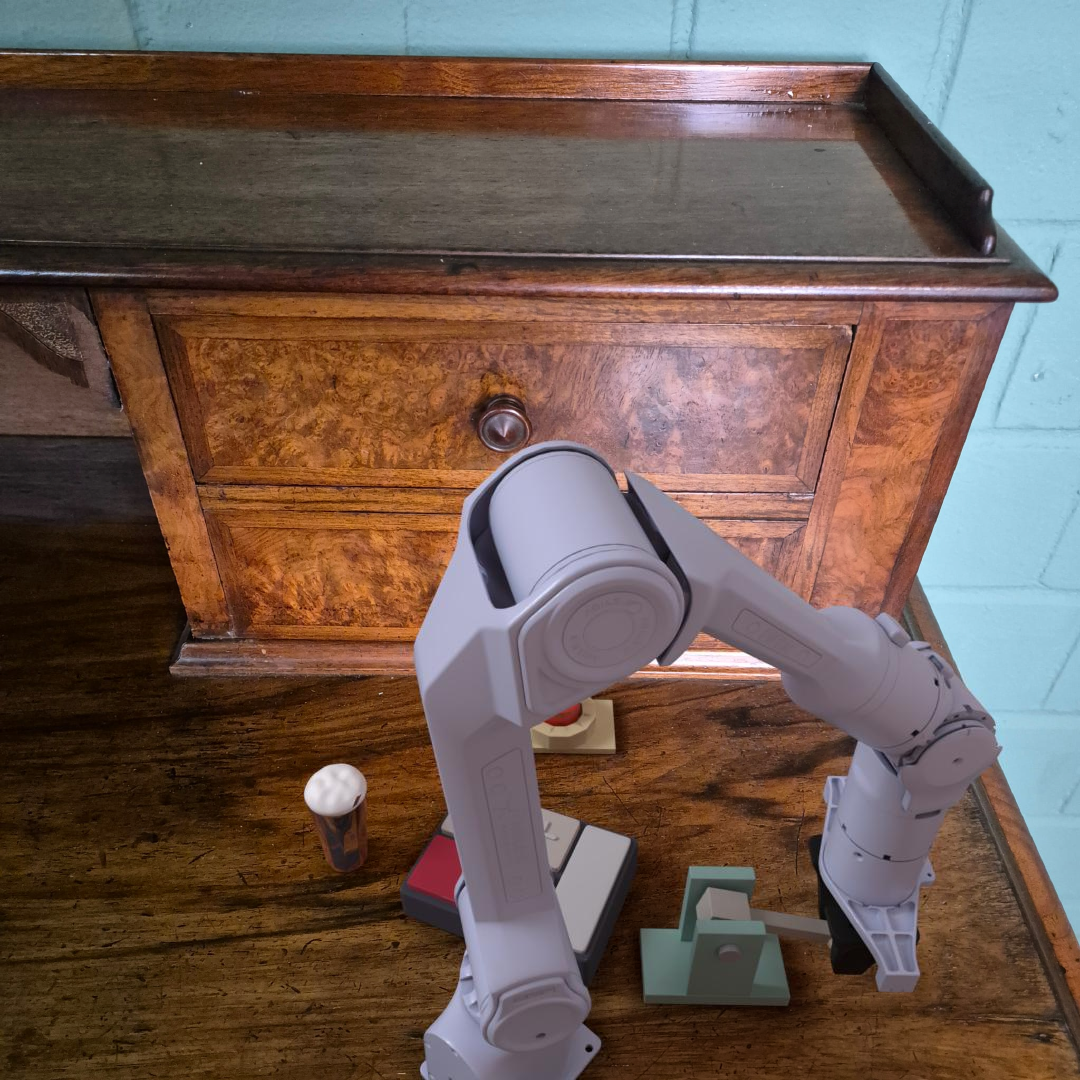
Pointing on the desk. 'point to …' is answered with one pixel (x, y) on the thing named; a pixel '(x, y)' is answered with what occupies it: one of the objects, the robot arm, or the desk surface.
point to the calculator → (579, 879)
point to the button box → (579, 732)
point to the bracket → (713, 952)
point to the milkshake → (339, 814)
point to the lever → (760, 916)
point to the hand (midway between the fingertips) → (840, 945)
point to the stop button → (565, 717)
